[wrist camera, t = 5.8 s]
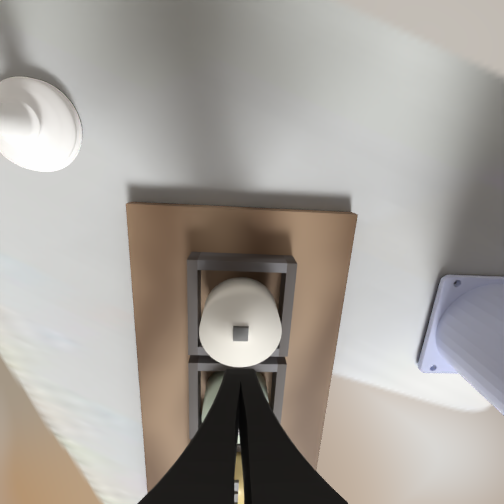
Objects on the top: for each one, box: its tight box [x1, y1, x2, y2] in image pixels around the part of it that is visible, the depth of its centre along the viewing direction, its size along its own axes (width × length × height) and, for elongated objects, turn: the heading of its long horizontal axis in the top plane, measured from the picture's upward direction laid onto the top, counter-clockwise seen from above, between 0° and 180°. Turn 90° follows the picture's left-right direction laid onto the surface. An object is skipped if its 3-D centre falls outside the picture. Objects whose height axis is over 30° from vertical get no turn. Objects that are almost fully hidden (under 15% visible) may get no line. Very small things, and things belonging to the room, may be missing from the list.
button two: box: [202, 371, 269, 444], centre depth 19 cm, size 4×4×3 cm
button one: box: [199, 277, 282, 367], centre depth 16 cm, size 4×4×3 cm
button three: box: [234, 452, 244, 504], centre depth 21 cm, size 4×4×3 cm
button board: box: [126, 202, 357, 492], centre depth 20 cm, size 14×26×3 cm, turn 177°
